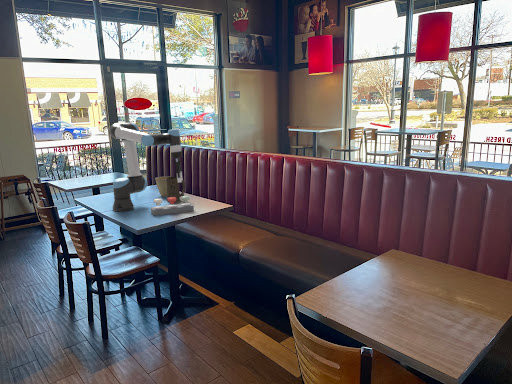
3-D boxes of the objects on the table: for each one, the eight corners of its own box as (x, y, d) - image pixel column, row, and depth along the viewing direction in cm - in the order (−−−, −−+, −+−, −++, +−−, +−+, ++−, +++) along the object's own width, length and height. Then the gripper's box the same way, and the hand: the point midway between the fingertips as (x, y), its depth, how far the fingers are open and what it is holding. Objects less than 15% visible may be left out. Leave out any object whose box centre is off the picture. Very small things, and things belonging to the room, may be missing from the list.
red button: (168, 204, 268) (168, 199, 267) (167, 203, 274) (166, 197, 273) (177, 203, 271) (176, 198, 270) (175, 202, 276) (174, 196, 275)
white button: (154, 206, 264) (154, 200, 263) (153, 204, 269) (152, 199, 269) (163, 205, 267) (162, 199, 266) (161, 203, 272) (161, 198, 271)
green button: (182, 203, 272) (182, 197, 272) (180, 201, 278) (180, 196, 277) (190, 202, 275) (190, 197, 274) (188, 200, 280) (188, 195, 279)
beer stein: (166, 202, 303) (166, 178, 299) (165, 199, 313) (165, 176, 309) (185, 202, 307) (185, 178, 303) (184, 199, 317) (184, 176, 313)
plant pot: (158, 194, 336) (157, 176, 333) (174, 193, 337) (173, 176, 334) (154, 197, 322) (153, 179, 319) (172, 197, 323) (171, 179, 319)
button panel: (153, 215, 263) (153, 209, 262) (151, 212, 272) (150, 206, 271) (193, 210, 275) (193, 205, 274) (190, 208, 284) (189, 202, 283)
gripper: (180, 151, 250) (184, 182, 253) (182, 150, 274) (186, 179, 278) (169, 152, 249) (173, 183, 252) (172, 151, 273) (176, 180, 277)
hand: (180, 181), depth 265 cm, fingers open, 13 cm apart
